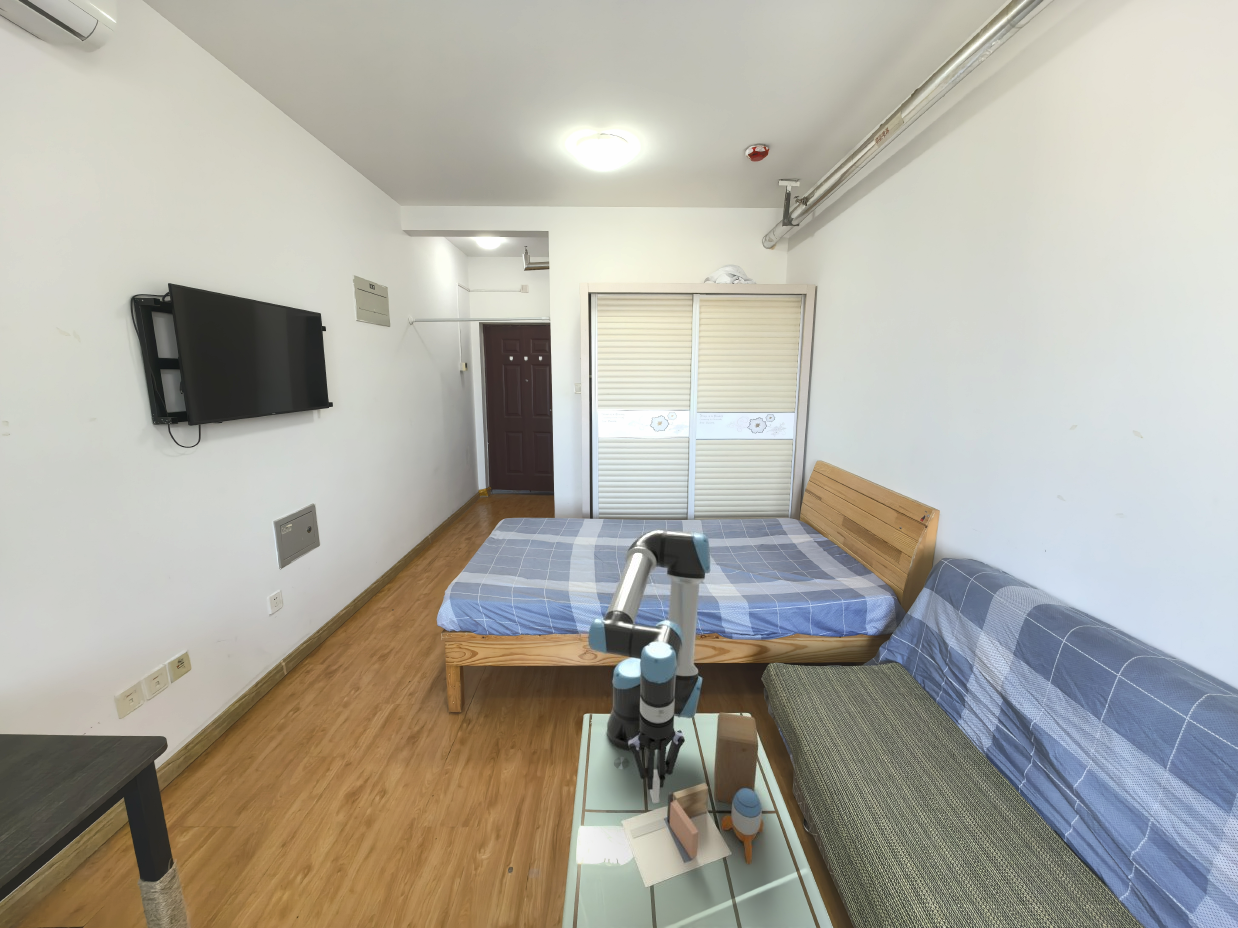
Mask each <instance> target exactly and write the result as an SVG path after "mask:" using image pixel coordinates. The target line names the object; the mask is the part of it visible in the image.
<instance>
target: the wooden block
mask: <svg viewBox="0 0 1238 928" xmlns="http://www.w3.org/2000/svg"><path fill="white" fill-rule="evenodd" d="M758 752H759V739H758V729H757V722H756V719H755V718H754V717H753V716H748V715H747V716H746V715H740V714H733V713H728V712H719V713H718V715H717V724H716V741H715V753H714V755H715V756H714V770H713V771H714V773H713V781H714V782H713V783H714V784H713V787H714V788H713V790H714V791H713V794H714V796H713V797H714V798H715V799H714V800H715V801H717V802H721V803H727V804H731V805H732V803H733V799H734V796H735V794H736V793H737V792H738V791H739V790H740V789H742V788H748V789H751V790H753V791H754V792H755V789H756V776H757V765H758V754H759V753H758Z"/></svg>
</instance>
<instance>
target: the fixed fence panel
mask: <svg viewBox="0 0 1238 928" xmlns="http://www.w3.org/2000/svg"><path fill="white" fill-rule="evenodd" d="M708 797H709V787H708V785H707V783H706V782H703V783H700V784H696V785H694V786H690V787H687V788H683V789H681V790H678V791H675V792H672V791H668V793H667V806H668V810H667V822H668V823H670V804H671V802H672V801H674V800H677V802H678V803H679V805H680V806H681V807H682V809H683V810H684V812H685V813H686V815H687V816H688V817H692V816H695V815H698V814H701V813H704V812H707V811H708Z"/></svg>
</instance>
